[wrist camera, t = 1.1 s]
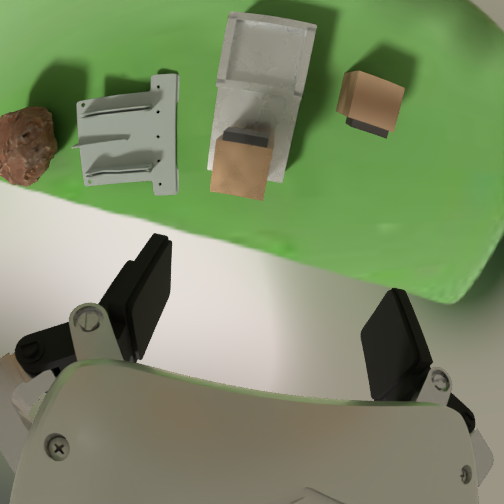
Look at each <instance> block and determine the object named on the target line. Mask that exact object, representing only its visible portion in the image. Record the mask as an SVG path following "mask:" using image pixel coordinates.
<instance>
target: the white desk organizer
mask: <svg viewBox="0 0 504 504" xmlns="http://www.w3.org/2000/svg"><path fill="white" fill-rule="evenodd" d="M316 28H317V25H315V24H311V23H306V22H302V21H297V20H292V19H286V18H281V17H275V16H268V15H261V14H252V13H243V12H229V17H228V21H227V26H226V31H225V37H224V42H223V47H222V53H221V58H220V64H219V70H218V76H217V82H216V87H218V93H217V99H216V106H215V113H214V120H213V127H212V135H211V142H210V150H209V159H208V167H207V170H212V177H211V186H210V191H213V192H218V193H224V194H230V195H235V196H241V197H246V198H251V199H256V200H262V201H263V197H264V192H265V188H266V183H267V180H269V181H274V182H279V183H282V181H283V177H284V172H285V168H286V164H287V159H288V155H289V150H290V146H291V141H292V137H293V132H294V128H295V123H296V118H297V114H298V109H299V105H300V101H301V100H302V95H303V91H304V86H305V81H306V77H307V72H308V67H309V62H310V57H311V53H312V48H313V43H314V38H315V33H316Z"/></svg>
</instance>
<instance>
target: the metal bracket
mask: <svg viewBox="0 0 504 504" xmlns="http://www.w3.org/2000/svg"><path fill="white" fill-rule="evenodd" d="M179 80H180V77H179V75H178V74H159V75H153V76H152V77H151V89H150V91H148V92H139V93H130V94H121V95H114V96H107V97H101V98H95V99H89V100H84V101H79V102H77V124H78V137H79V143H78V144H76V145H74V146H72V148H78V147H80V157H81V165H82V172H83V179H84V185H85V186H93V185H103V184H113V183H125V182H138V181H152V182H153V191H154V194H155V195H157V196H159V195H175V194H177V193H178V192H179V175H178V168H177V166H176V106H177V102H178V101H179ZM158 85H159V86H160V88H159V89H158V88H157V86H158ZM82 103H85V106H84V107H82ZM157 110H159V111H160V112H159V113H157ZM157 135H159V136H160V137H159V138H157ZM157 160H160V162H158V161H157ZM89 180H92V183H89ZM159 183H161V185H159Z"/></svg>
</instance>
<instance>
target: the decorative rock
mask: <svg viewBox="0 0 504 504" xmlns="http://www.w3.org/2000/svg"><path fill="white" fill-rule="evenodd" d="M56 151H57V140H56V138H55V135H54V128H53V120H52V113H50V112H48V109H47V108H45V107H26V108H23V109H21V110H18V111H16V112H9V113H7V114H5V115H2V116H1V118H0V176H2V177H3V178H5V179H6V180H7V181H9V182H10V184H13V185H16V184H17V185H20V186H21V185H23V186H24V187H27V186H30V185H31V184H33V183H35V182H38V179H39V178H40V176H41V175H42V174H43V173H44V172H45V171H46V170H47V169H48V167H49V164H50V160H51V159H52V158H54V154H55V153H56Z"/></svg>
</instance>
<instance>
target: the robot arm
mask: <svg viewBox="0 0 504 504" xmlns="http://www.w3.org/2000/svg"><path fill="white" fill-rule="evenodd" d="M171 257H172V241H170V240H168V237H167V236H165V235H160V234H156V233H154V234H153V235H152V237H151V238H150V239H149V241H148V242H147V243H146V245H145V247H144V248H143V249H142V251H141V252H140V254H139V255H138V257H137V258H136V259H135V261H131V260H129V261H127V262H126V264H125V265H124V266H123V268H122V269H121V271H120V272H119V274H118V275H117V277H116V278H115V279H114V281H113V282H112V284H111V285H110V287H109V289H108V290H107V291H106V293H105V294H104V296H103V298H102V299H101V301H100V302H99V304H95V303H85V304H82V305H79V306H77V307H76V308H75V309H74V310H73V311H72V312H71V314H70V317H69V322H67V323H64V324H60V325H58V326H54V327H51V328H48V329H45V330H42V331H38V332H35V333H32V334H29V335H27V336H24V337H23V338H22V339H21V340H20V341H19V342H18V344H17V345H16V349H15V353H13V354H12V355H10V353H7V354H6V355H5V356H3V357H2V358H0V450H1V452H2V454H3V455H4V457H5V459H6V461H7V462H8V464H9V465H10V467H11V469H12V470H13V472H14V473H15V480H14V484H13V488H12V493H11V499H10V504H479V498H478V497H479V496H478V487H479V485H480V484H481V483H482V481H483V480H484V478H485V477H486V475H487V474H488V472H489V471H490V469H491V468H492V465H493V461H494V459H493V454H492V452H491V450H490V449H489V447H488V445H487V444H486V442H485V440H484V439H483V437H482V435H481V434H480V432H479V431H478V429H477V428H476V429H475V430H474V428H475V418H474V415H473V413H472V412H471V411H470V409H469V408H467V407H466V406H465V405H464V404H463V403H462V402H461V401H460V400H459V399H458V398H456V397H455V396H454V395H453V394H452V393H451V390H452V381H451V378H450V376H449V375H448V373H447V372H446V371H445V370H444V369H442V368H440V367H433V368H432V369H431V368H430V365H431V364H432V363H433V361H432V358H431V355H430V352H429V349H428V346H427V344H426V341H425V338H424V335H423V333H422V330H421V327H420V325H419V322H418V320H417V317H416V315H415V312H414V310H413V307H412V305H411V303H410V300H409V298H408V296H407V293H406V291H405V290H402V289H397V288H392V289H391V290H389V291H387V293H386V294H385V296H384V297H383V299H382V301H381V302H380V304H379V305H378V307H377V308H376V310H375V311H374V313H373V314H372V316H371V317H370V319H369V320H368V322H367V323H366V325H365V326H364V327H363V329H362V331H361V341H362V346H363V351H364V356H365V362H366V368H367V373H368V379H369V385H370V391H371V397H372V399H374V401H356V400H337V399H325V398H312V397H303V396H294V395H287V394H279V393H272V392H265V391H259V390H253V389H247V388H242V387H236V386H231V385H226V384H221V383H216V382H212V381H207V380H203V379H198V378H194V377H190V376H186V375H181V374H177V373H174V372H170V371H166V370H162V369H159V368H155V367H150V366H146V365H142V364H139V363H136V362H137V360H138V359H139V360H141V359H142V358H143V356H144V354H145V351H146V349H147V346H148V344H149V341H150V339H151V337H152V334H153V332H154V330H155V327H156V325H157V323H158V321H159V318H160V316H161V314H162V311H163V309H164V307H165V305H166V302H167V300H168V298H169V295H170V286H171V285H170V284H171ZM43 393H46V395H45V397H44V399H43V401H42V403H41V405H40V407H39V410H38V411H37V414H36V416H35V418H34V421H33V423H31V421H30V418H29V411H30V408H31V406H32V405H33V404H34V403H35V402H37V401H38V400H39V398H38V397H39V396H41V395H42V394H43ZM66 439H67V440H66Z"/></svg>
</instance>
